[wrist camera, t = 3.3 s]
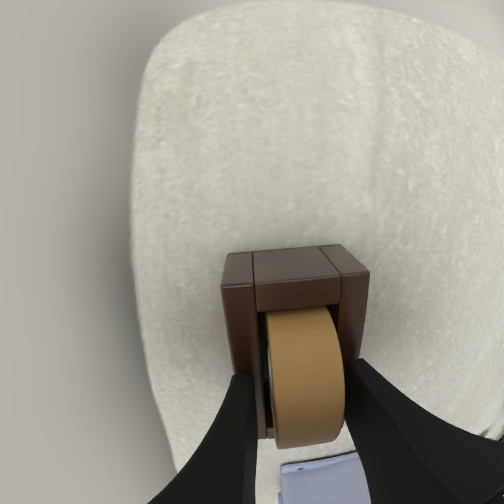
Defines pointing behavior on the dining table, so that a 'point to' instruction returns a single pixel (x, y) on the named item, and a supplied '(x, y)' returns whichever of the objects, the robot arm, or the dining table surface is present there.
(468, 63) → the dining table surface
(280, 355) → the tape
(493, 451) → the robot arm
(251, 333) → the holder
